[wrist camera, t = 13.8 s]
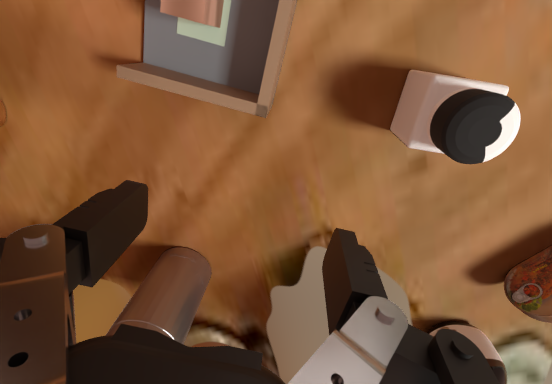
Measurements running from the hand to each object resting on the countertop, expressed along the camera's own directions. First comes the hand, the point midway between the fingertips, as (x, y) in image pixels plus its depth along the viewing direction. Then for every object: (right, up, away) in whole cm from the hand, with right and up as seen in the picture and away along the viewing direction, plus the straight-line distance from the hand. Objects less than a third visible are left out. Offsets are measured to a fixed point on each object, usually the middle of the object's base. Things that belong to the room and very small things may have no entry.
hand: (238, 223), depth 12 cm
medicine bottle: (+20, +12, +22) cm, 32 cm away
